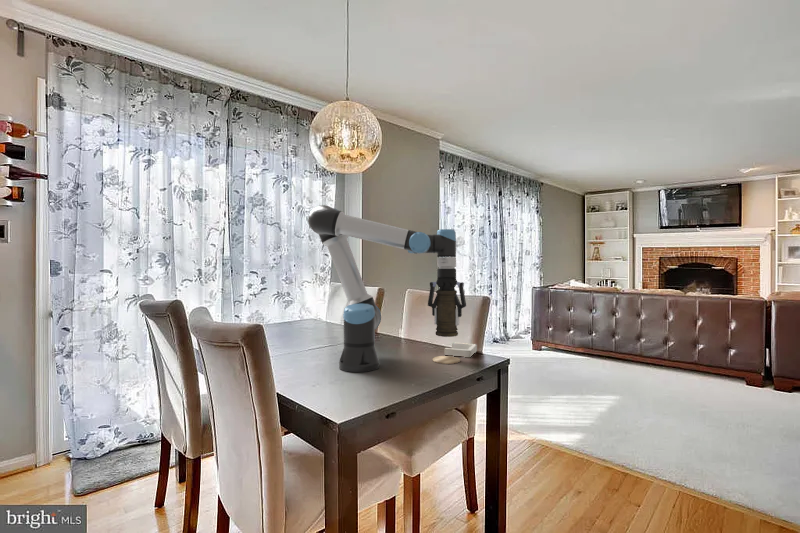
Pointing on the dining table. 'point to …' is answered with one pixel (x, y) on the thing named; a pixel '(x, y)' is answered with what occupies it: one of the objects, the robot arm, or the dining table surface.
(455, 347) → the cradle
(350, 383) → the dining table surface
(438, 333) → the container
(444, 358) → the disc
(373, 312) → the robot arm
